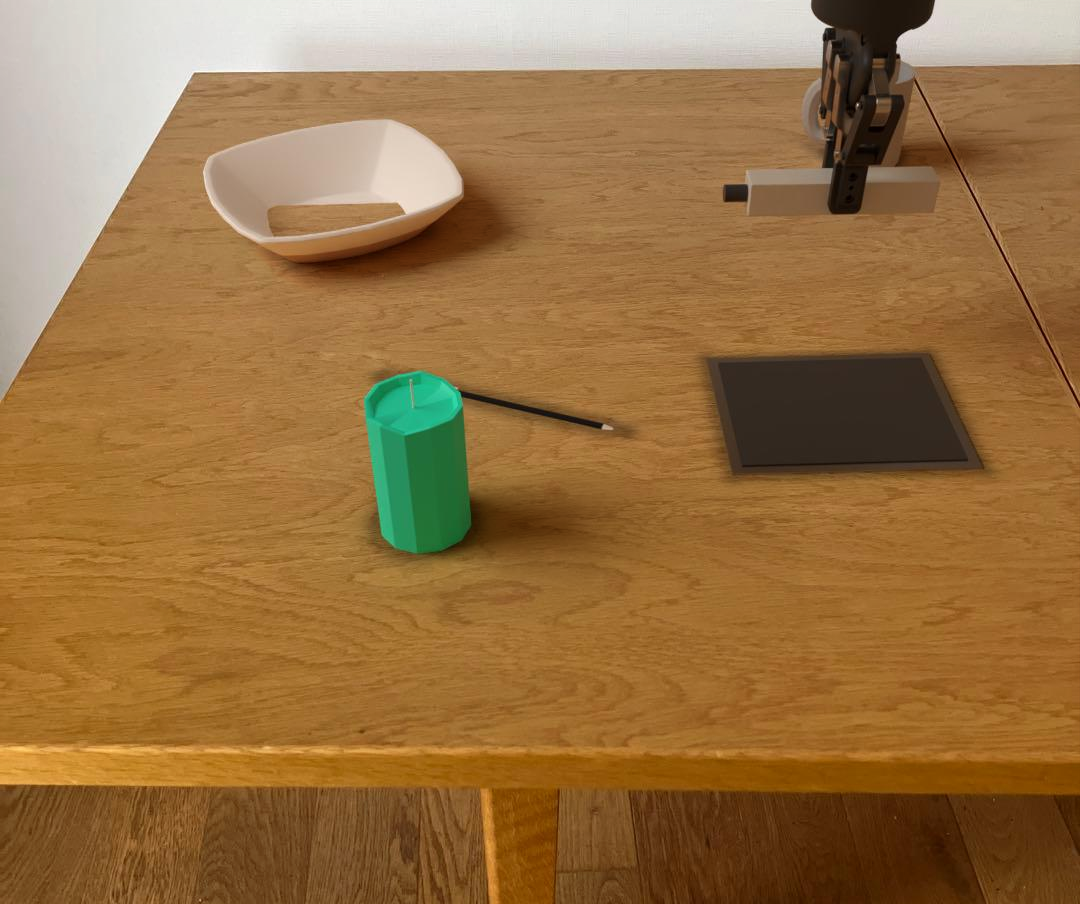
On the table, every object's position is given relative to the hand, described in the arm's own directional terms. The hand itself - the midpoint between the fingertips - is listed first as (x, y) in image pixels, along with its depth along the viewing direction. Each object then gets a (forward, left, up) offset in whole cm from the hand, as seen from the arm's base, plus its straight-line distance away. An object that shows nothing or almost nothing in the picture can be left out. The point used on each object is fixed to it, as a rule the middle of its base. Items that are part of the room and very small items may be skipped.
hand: (838, 200), depth 84 cm
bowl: (+39, -23, -13) cm, 47 cm away
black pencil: (+24, +6, -13) cm, 28 cm away
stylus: (0, 0, 0) cm, 0 cm away
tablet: (0, +8, -13) cm, 15 cm away
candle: (+29, +19, -13) cm, 37 cm away
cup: (-10, -35, -13) cm, 39 cm away
